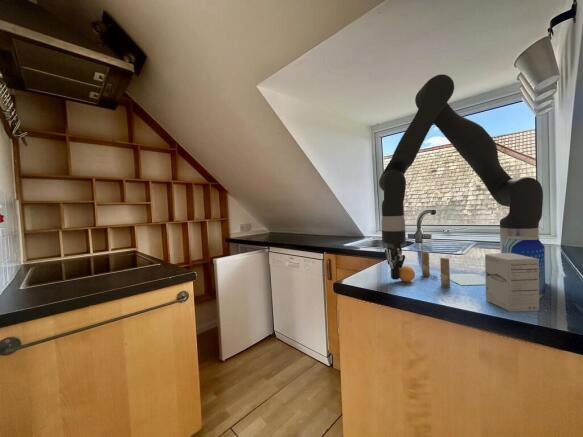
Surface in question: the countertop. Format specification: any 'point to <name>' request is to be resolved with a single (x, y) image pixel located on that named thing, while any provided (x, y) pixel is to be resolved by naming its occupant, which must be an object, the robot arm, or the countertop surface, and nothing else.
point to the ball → (406, 274)
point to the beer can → (528, 253)
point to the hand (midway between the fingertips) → (395, 278)
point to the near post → (445, 272)
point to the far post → (425, 263)
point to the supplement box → (512, 281)
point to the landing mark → (467, 279)
